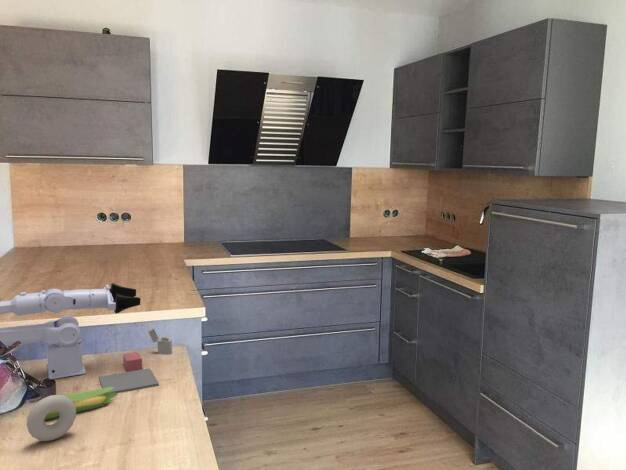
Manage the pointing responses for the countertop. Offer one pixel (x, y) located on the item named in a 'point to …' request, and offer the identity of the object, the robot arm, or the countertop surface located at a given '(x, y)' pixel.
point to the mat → (129, 380)
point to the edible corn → (87, 400)
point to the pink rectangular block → (132, 361)
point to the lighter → (161, 343)
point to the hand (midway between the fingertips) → (138, 296)
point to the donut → (43, 408)
